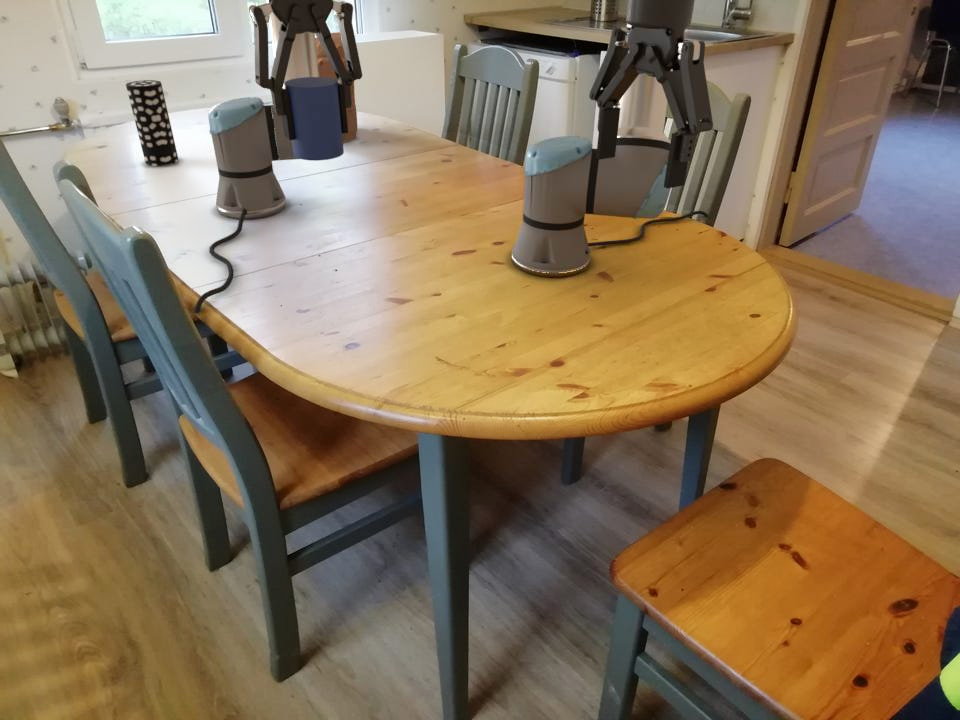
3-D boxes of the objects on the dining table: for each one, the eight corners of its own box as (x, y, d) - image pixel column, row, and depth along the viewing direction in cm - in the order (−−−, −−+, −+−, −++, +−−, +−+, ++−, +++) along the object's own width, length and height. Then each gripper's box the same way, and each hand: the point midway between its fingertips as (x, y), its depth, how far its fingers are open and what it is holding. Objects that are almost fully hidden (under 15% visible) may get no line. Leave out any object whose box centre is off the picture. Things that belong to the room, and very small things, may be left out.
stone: (363, 142, 203) (354, 38, 189) (325, 145, 200) (313, 39, 186) (351, 127, 221) (342, 31, 207) (316, 130, 218) (304, 32, 204)
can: (351, 155, 101) (345, 84, 96) (303, 163, 98) (294, 89, 93) (332, 144, 107) (325, 75, 101) (287, 150, 103) (277, 80, 98)
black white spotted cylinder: (184, 157, 190) (167, 80, 179) (169, 166, 183) (151, 87, 172) (155, 156, 190) (136, 79, 179) (139, 165, 183) (119, 86, 172)
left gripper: (221, -45, 82) (253, 149, 94) (380, -47, 90) (390, 132, 102) (208, -48, 87) (240, 136, 99) (359, -49, 96) (371, 120, 108)
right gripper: (572, -19, 87) (559, 150, 98) (720, -1, 68) (683, 205, 80) (618, -21, 90) (601, 144, 101) (772, -4, 71) (730, 195, 83)
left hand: (316, 134), depth 101 cm, fingers closed on can, 7 cm apart
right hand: (637, 171), depth 90 cm, fingers open, 13 cm apart
